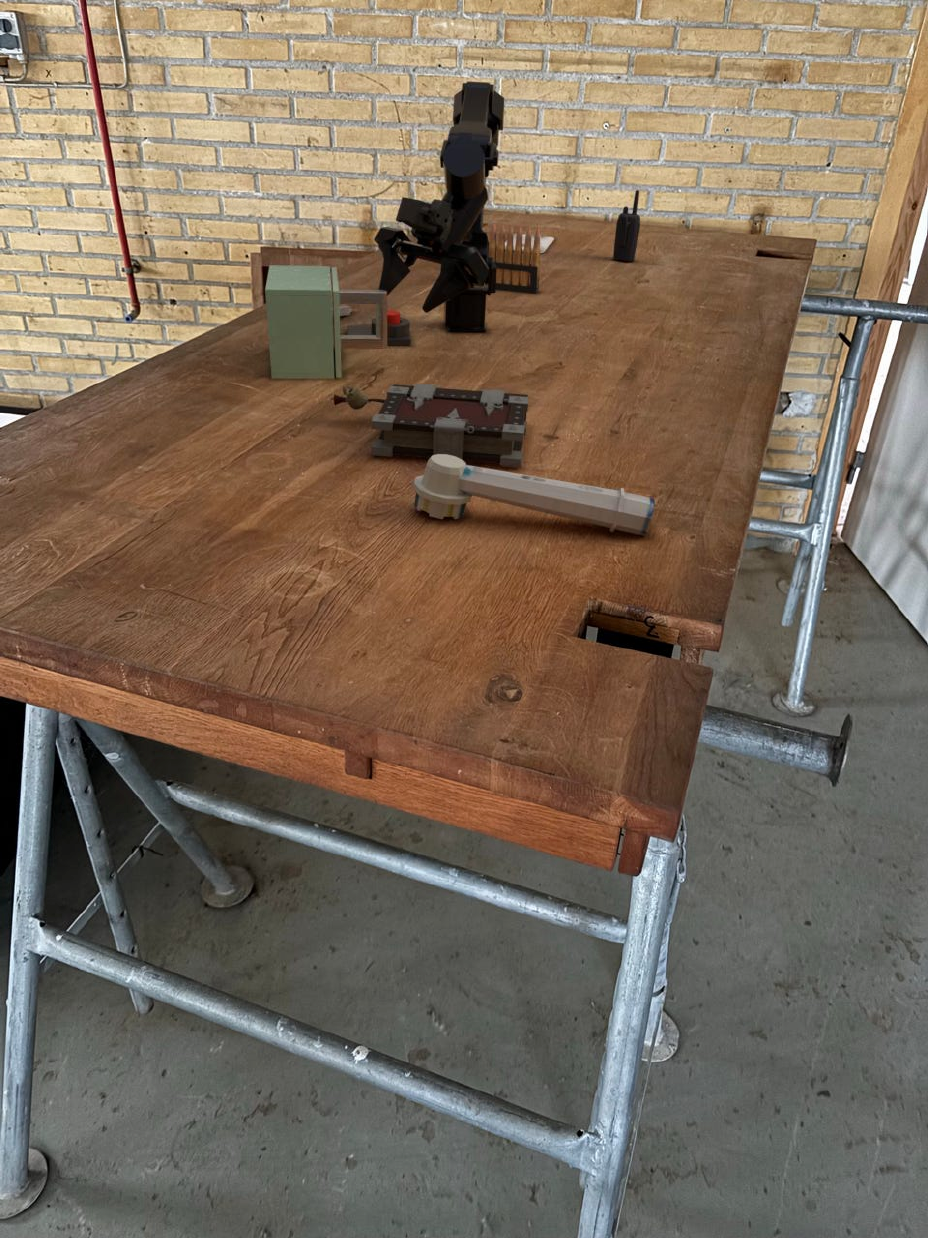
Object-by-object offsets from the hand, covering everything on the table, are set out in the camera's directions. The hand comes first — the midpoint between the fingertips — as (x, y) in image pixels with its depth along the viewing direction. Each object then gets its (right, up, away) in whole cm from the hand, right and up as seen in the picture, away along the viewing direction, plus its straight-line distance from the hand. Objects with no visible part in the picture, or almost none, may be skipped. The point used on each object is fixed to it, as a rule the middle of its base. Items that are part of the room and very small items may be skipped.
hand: (401, 304), depth 132 cm
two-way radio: (+46, +37, +77) cm, 97 cm away
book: (+4, -23, -17) cm, 29 cm away
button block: (-5, 0, +18) cm, 19 cm away
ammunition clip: (+19, +20, +50) cm, 57 cm away
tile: (+28, +39, +79) cm, 93 cm away
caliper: (-14, +4, +23) cm, 27 cm away
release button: (-3, +3, +17) cm, 17 cm away
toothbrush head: (+16, -35, -35) cm, 52 cm away
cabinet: (-15, -7, +6) cm, 18 cm away
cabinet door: (-7, -6, +7) cm, 12 cm away
